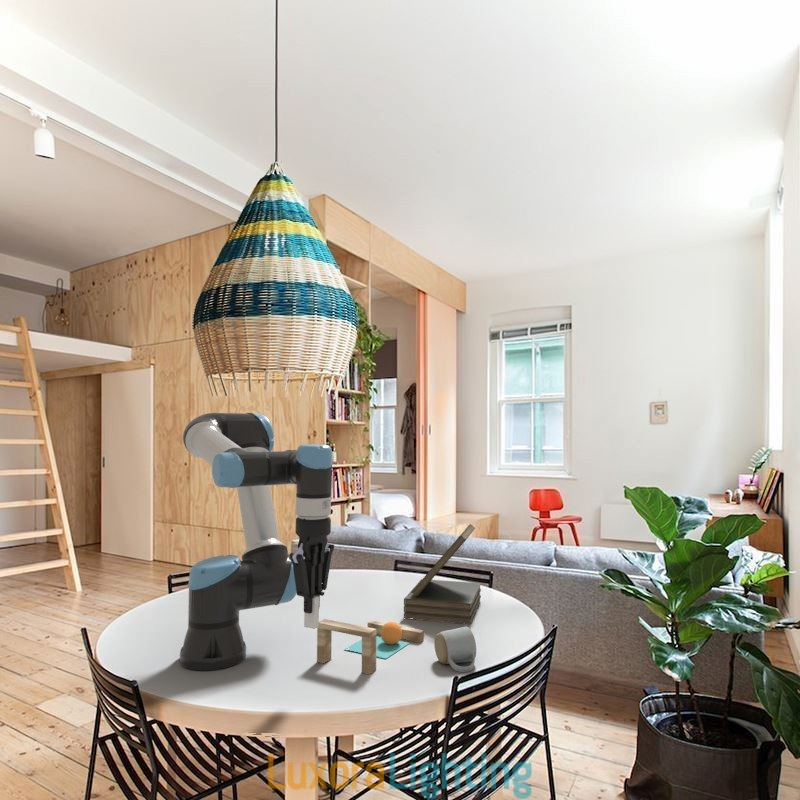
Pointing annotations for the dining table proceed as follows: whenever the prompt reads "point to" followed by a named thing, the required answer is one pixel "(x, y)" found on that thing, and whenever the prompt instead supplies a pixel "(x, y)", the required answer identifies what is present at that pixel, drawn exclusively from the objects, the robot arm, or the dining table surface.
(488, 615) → the dining table surface
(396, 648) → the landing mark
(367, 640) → the bridge
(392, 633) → the ball
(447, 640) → the ceramic mug
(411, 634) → the stopper
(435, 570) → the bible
